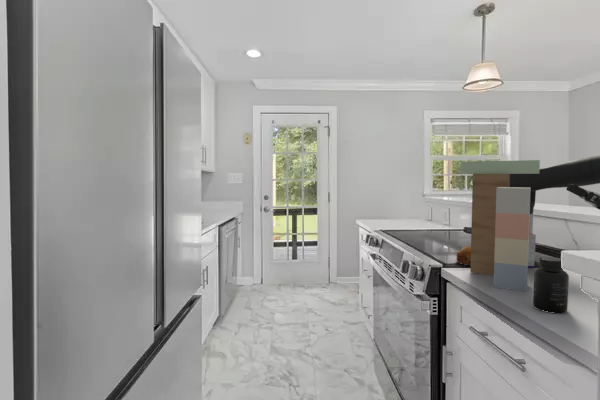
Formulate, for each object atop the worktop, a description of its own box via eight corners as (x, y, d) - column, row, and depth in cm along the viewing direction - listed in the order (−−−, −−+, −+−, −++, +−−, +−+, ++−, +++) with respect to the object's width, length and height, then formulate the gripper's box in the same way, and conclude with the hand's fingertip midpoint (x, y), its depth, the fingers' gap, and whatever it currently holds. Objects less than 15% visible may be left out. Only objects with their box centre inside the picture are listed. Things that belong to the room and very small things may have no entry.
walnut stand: (473, 267, 130) (476, 174, 128) (507, 271, 125) (510, 173, 123) (470, 272, 123) (472, 173, 121) (505, 276, 118) (508, 173, 116)
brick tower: (496, 280, 114) (499, 187, 112) (527, 284, 110) (530, 187, 108) (493, 286, 107) (496, 187, 106) (526, 291, 103) (530, 188, 101)
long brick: (462, 174, 129) (462, 162, 128) (539, 173, 117) (539, 160, 117) (460, 173, 125) (460, 161, 125) (539, 173, 114) (539, 160, 113)
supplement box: (535, 267, 129) (536, 234, 129) (516, 267, 131) (517, 234, 130) (528, 264, 135) (529, 232, 134) (510, 263, 136) (511, 231, 136)
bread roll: (486, 273, 137) (488, 251, 140) (483, 266, 129) (485, 243, 132) (457, 269, 143) (459, 249, 145) (452, 262, 134) (455, 241, 137)
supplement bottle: (526, 304, 93) (527, 255, 92) (552, 303, 93) (554, 255, 92) (546, 314, 86) (548, 262, 85) (575, 313, 86) (577, 261, 86)
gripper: (633, 203, 110) (574, 175, 117) (646, 206, 98) (579, 175, 104) (616, 224, 112) (559, 196, 119) (626, 230, 100) (562, 198, 107)
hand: (568, 186), depth 112 cm, fingers open, 8 cm apart
